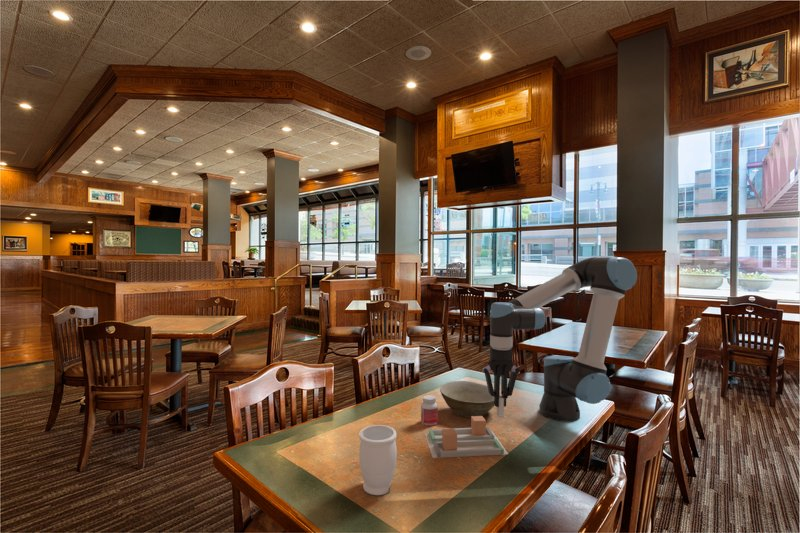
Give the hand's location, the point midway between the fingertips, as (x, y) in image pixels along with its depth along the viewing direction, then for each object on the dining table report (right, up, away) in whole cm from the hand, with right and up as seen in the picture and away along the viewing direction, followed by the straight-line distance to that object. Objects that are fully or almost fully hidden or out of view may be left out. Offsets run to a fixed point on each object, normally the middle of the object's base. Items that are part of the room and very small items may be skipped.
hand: (500, 415), depth 132 cm
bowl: (-6, -8, +22) cm, 25 cm away
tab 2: (-8, -7, 0) cm, 10 cm away
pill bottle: (-24, -9, +11) cm, 27 cm away
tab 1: (-19, -7, -10) cm, 23 cm away
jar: (-41, -9, -27) cm, 49 cm away
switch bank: (-13, -9, -5) cm, 17 cm away
